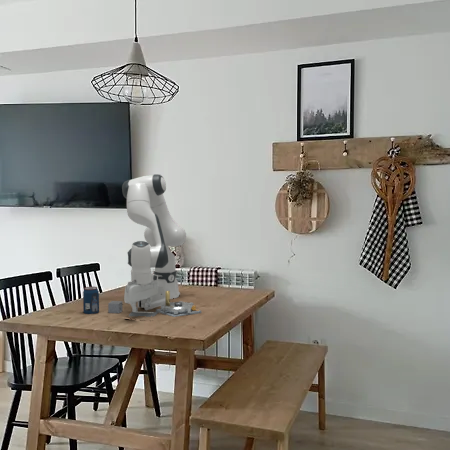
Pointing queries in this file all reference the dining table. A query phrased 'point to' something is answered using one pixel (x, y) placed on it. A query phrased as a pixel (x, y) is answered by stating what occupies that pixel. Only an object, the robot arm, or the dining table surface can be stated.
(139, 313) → the pad
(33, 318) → the dining table surface
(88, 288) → the soda can
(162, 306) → the sprocket
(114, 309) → the link block
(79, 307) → the dining table surface
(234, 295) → the dining table surface
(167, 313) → the sprocket base
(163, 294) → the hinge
